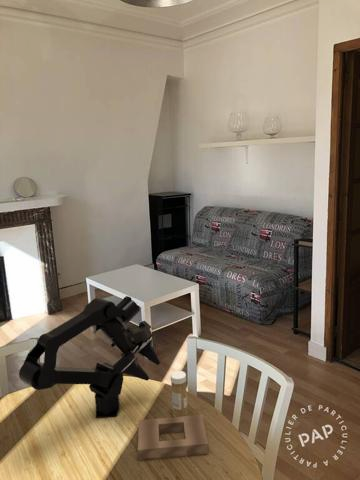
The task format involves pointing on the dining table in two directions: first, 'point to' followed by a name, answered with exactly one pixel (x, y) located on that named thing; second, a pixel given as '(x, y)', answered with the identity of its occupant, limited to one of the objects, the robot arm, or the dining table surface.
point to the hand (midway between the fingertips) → (153, 371)
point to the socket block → (174, 448)
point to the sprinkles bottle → (179, 394)
